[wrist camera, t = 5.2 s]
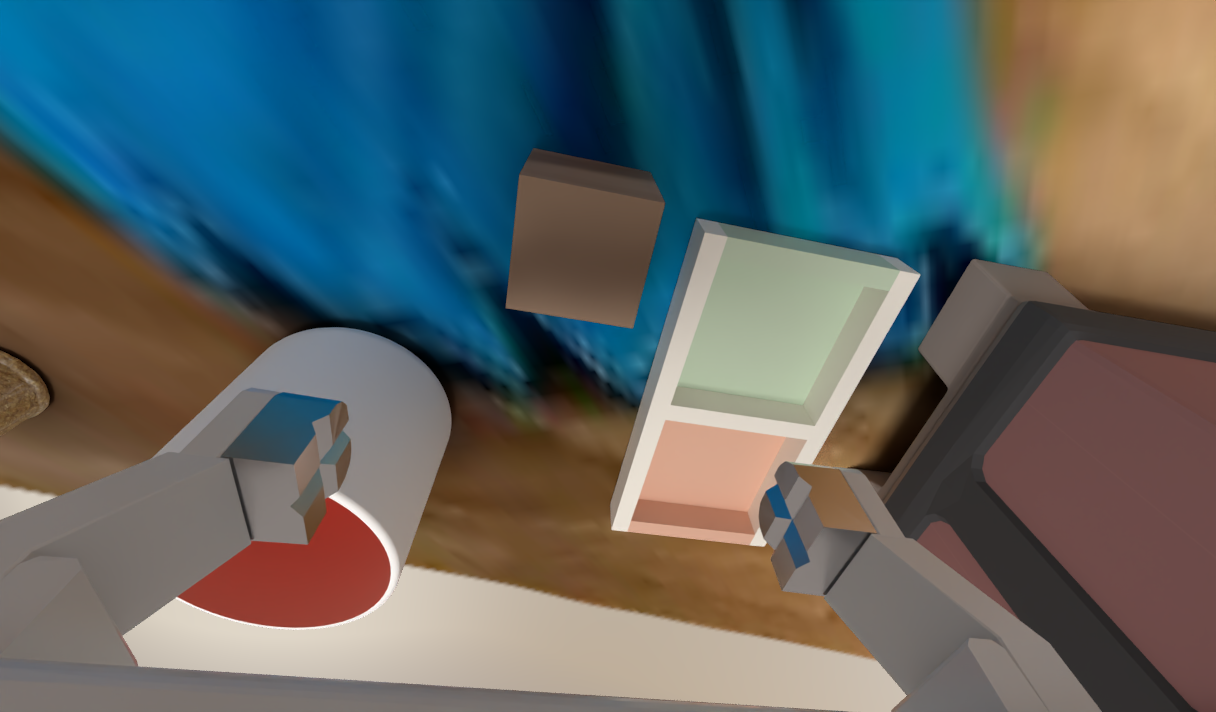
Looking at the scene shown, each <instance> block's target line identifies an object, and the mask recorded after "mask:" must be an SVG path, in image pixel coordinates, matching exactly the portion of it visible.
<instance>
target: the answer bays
mask: <svg viewBox="0 0 1216 712" xmlns="http://www.w3.org/2000/svg"><path fill="white" fill-rule="evenodd" d="M919 277H920V274H919V273H917V272H916V271H915V270H913V269H912V268H910V267H909V266H908V265H906V264H905V263H903V262H902V261H900V260H899V259H898V258H894V257H889V256H884V255H879V254H874V253H869V252H864V251H859V250H854V249H849V248H844V247H839V246H834V245H829V244H824V243H819V242H814V241H809V240H804V239H799V238H794V237H789V236H784V235H779V234H774V233H769V232H764V231H759V230H754V229H749V228H744V227H739V226H734V225H729V224H724V223H719V222H714V221H709V220H704V219H699V218H696V221H695V224H694V227H693V231H692V234H691V237H690V241H689V244H688V247H687V251H686V254H685V257H684V261H683V264H682V267H681V271H680V274H679V277H678V281H677V284H676V287H675V291H674V294H673V297H672V301H671V304H670V307H669V311H668V314H667V317H666V321H665V324H664V327H663V331H662V334H661V337H660V341H659V344H658V347H657V351H656V354H655V357H654V360H653V364H652V367H651V370H650V374H649V377H648V380H647V384H646V387H645V390H644V394H643V397H642V400H641V404H640V407H639V410H638V414H637V417H636V420H635V424H634V427H633V430H632V434H631V437H630V440H629V444H628V447H627V450H626V454H625V457H624V460H623V464H622V467H621V470H620V474H619V477H618V480H617V484H616V487H615V490H614V494H613V497H612V500H611V503H610V509H611V530H617V531H626V532H635V533H644V534H654V535H663V536H672V537H681V538H690V539H699V540H708V541H717V542H726V543H735V544H744V545H753V546H763V547H764V546H765V544H766V543H767V542H766V541H765V540H764V539H763V536H762V533H761V530H760V525H759V517H758V516H759V507H760V502H761V500H762V498H763V496H764V494H765V491H767V490H768V489H770V488H771V487H773V486H775V485H776V484H777V482H776V479H775V476H774V475H775V473H776V471H777V469H778V467H779V466H780V465H781V464H782V463H784V462H785V461H788V462H796V463H804V464H812V463H813V461H814V459H815V458H816V456H817V454H818V452H819V451H820V449H821V447H822V445H823V444H824V442H825V440H826V438H827V437H828V435H829V433H830V432H831V430H832V428H833V426H834V425H835V423H836V421H837V419H838V418H839V416H840V414H841V412H842V411H843V409H844V407H845V405H846V404H847V402H848V400H849V399H850V397H851V395H852V393H853V392H854V390H855V388H856V386H857V385H858V383H859V381H860V379H861V378H862V376H863V374H864V372H865V371H866V369H867V367H868V366H869V364H870V362H871V360H872V359H873V357H874V355H875V353H876V352H877V350H878V348H879V346H880V345H881V343H882V341H883V339H884V338H885V336H886V334H887V333H888V331H889V329H890V327H891V326H892V324H893V322H894V320H895V319H896V317H897V315H898V313H899V312H900V310H901V308H902V306H903V305H904V303H905V301H906V300H907V298H908V296H909V294H910V293H911V291H912V289H913V287H914V286H915V284H916V282H917V280H918V279H919Z"/></svg>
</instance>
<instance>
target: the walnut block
mask: <svg viewBox="0 0 1216 712" xmlns="http://www.w3.org/2000/svg"><path fill="white" fill-rule="evenodd" d="M664 206H665V202H664V199H663V197H662V195H661V193H660V191H659V189H658V187H657V185H656V183H655V181H654V179H653V176H652V174H651V172H648V171H643V170H638V169H633V168H629V167H624V166H619V165H614V164H609V163H604V162H599V161H594V160H590V159H585V158H580V157H575V156H570V155H565V154H560V153H556V152H551V151H546V150H541V149H536V148H533V150H532V152H531V154H530V155H529V157H528V159H527V161H526V163H525V165H524V167H523V169H522V170H521V172H520V174H519V183H518V193H517V202H516V212H515V222H514V232H513V241H512V251H511V261H510V271H509V281H508V290H507V300H506V308H509V309H515V310H521V311H527V312H533V313H540V314H546V315H552V316H558V317H564V318H571V319H577V320H583V321H589V322H595V323H602V324H608V325H614V326H620V327H626V328H633V326H634V322H635V318H636V315H637V311H638V307H639V303H640V299H641V295H642V291H643V287H644V284H645V280H646V276H647V272H648V268H649V264H650V260H651V257H652V253H653V249H654V245H655V241H656V237H657V233H658V229H659V226H660V222H661V218H662V214H663V210H664Z"/></svg>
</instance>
